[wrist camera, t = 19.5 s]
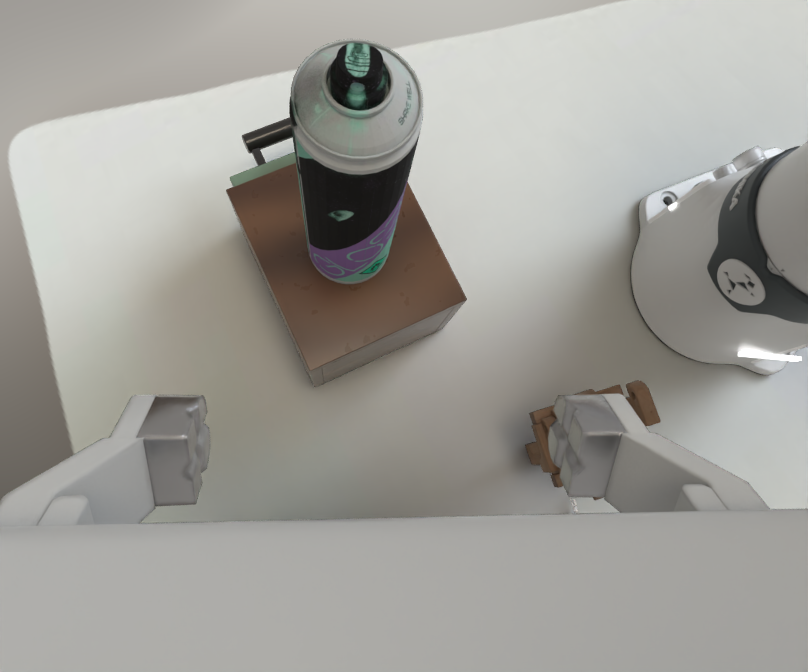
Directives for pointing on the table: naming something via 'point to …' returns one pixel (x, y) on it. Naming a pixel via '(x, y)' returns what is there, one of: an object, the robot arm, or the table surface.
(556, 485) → the ostrich figurine
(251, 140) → the cabinet drawer
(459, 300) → the cabinet
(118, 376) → the table surface
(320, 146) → the spray can
